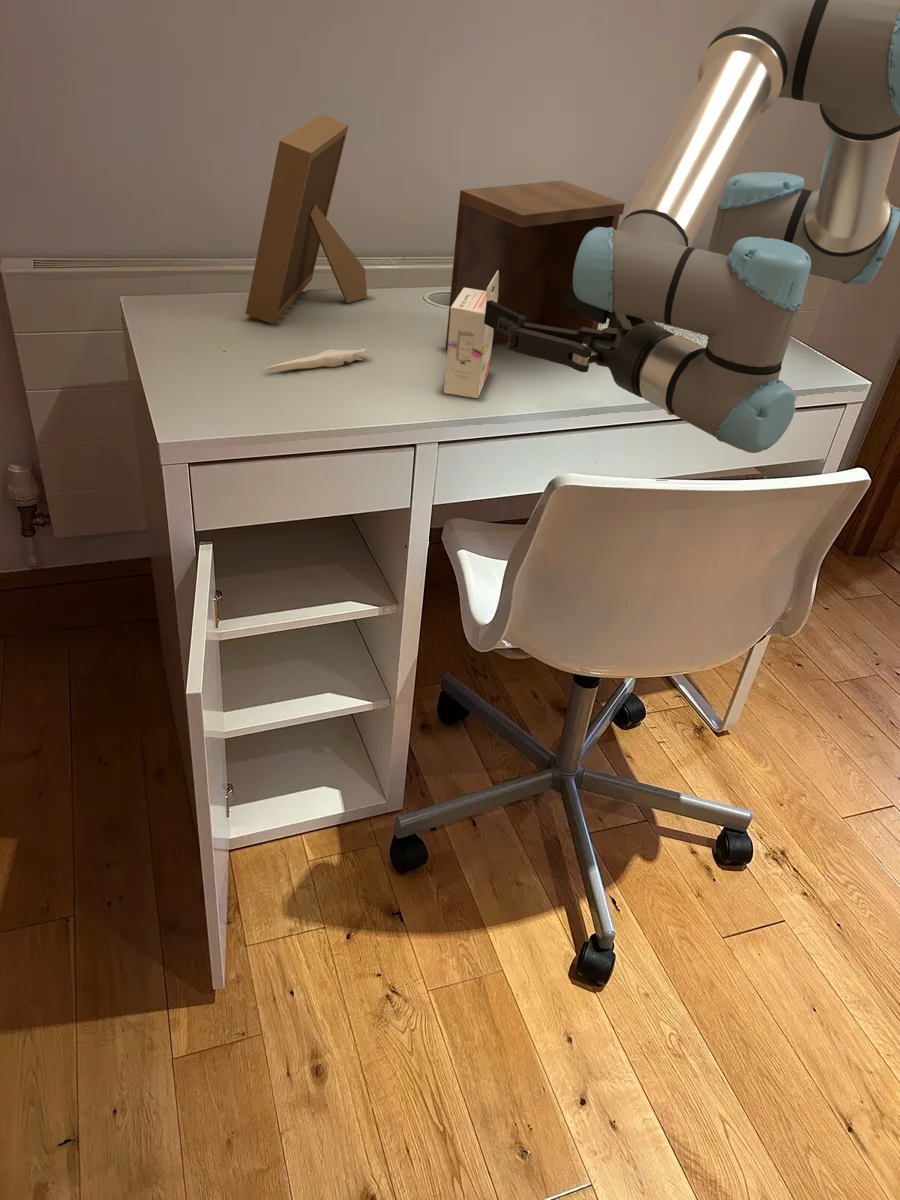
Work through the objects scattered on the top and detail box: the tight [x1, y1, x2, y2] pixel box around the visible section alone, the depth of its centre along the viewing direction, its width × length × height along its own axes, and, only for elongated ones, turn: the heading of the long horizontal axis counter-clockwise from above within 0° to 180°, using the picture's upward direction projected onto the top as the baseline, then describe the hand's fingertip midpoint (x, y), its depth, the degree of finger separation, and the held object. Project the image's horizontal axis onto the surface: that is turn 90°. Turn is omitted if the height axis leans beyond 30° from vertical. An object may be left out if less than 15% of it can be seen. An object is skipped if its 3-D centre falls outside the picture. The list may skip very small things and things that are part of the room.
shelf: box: [445, 179, 626, 351], centre depth 130 cm, size 19×12×22 cm
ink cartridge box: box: [443, 270, 499, 399], centre depth 121 cm, size 9×5×15 cm, turn 168°
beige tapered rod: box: [266, 347, 367, 371], centre depth 125 cm, size 15×3×2 cm, turn 123°
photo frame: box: [245, 113, 368, 325], centre depth 137 cm, size 15×22×25 cm
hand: (529, 303), depth 113 cm, fingers open, 13 cm apart
